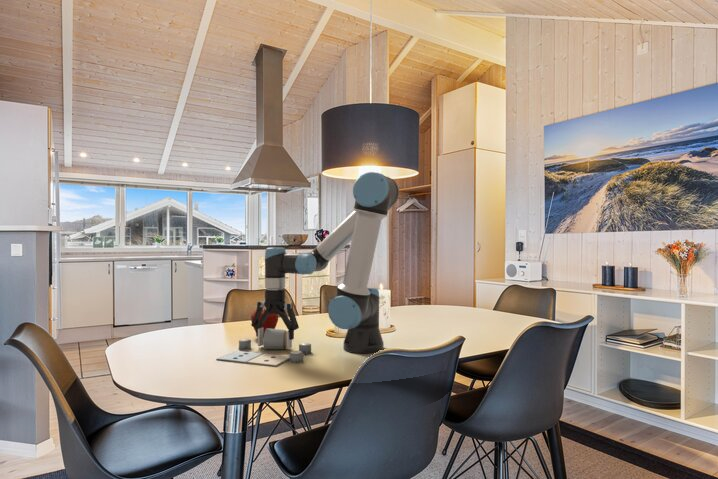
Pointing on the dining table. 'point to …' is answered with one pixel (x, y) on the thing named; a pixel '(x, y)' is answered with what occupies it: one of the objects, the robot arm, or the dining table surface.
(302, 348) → the tealight
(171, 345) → the dining table surface
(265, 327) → the apple
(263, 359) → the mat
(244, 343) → the tealight
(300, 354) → the tealight
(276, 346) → the grey cylinder
